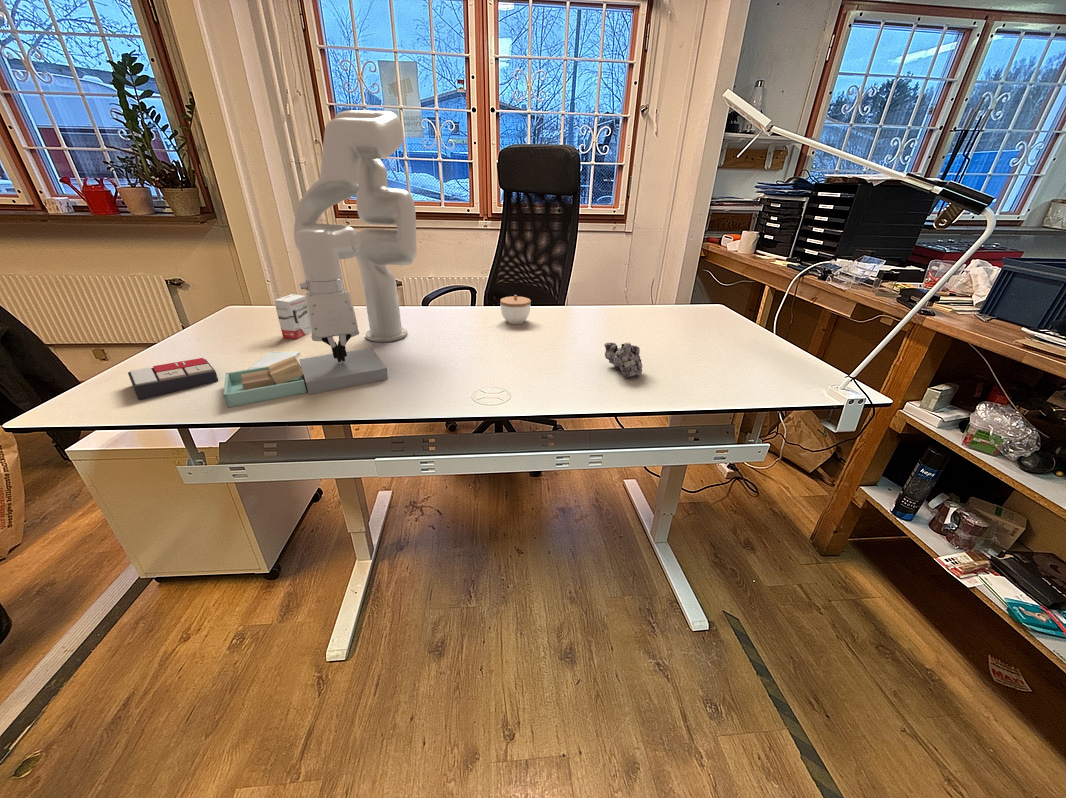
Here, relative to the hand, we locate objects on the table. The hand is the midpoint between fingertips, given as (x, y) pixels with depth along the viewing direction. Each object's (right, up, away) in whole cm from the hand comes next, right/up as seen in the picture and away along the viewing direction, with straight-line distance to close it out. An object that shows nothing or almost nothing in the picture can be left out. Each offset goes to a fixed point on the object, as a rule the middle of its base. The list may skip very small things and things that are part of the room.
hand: (340, 359), depth 106 cm
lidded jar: (+42, +18, +45) cm, 64 cm away
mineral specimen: (+73, -3, +7) cm, 73 cm away
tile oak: (-10, -4, -5) cm, 12 cm away
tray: (-15, -7, -6) cm, 17 cm away
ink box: (-26, +10, +28) cm, 40 cm away
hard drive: (-21, -1, +7) cm, 22 cm away
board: (0, -4, +2) cm, 4 cm away
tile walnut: (-15, -7, -7) cm, 19 cm away
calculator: (-37, -7, -4) cm, 38 cm away
